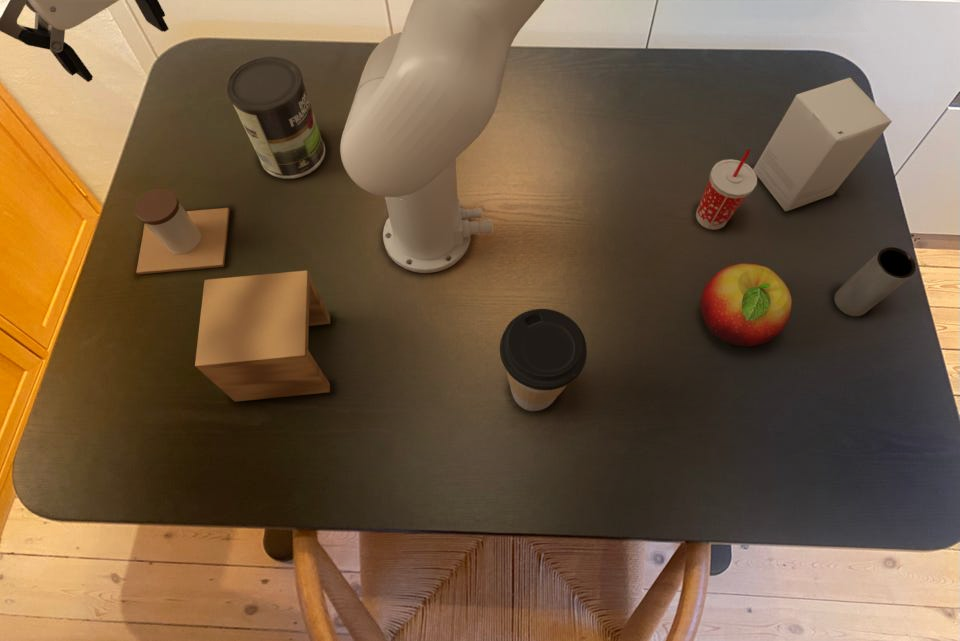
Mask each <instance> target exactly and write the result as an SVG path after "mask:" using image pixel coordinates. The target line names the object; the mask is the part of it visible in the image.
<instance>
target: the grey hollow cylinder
mask: <svg viewBox="0 0 960 641" xmlns="http://www.w3.org/2000/svg"><path fill="white" fill-rule="evenodd" d="M916 269H917V265H916V261H915V260H914V258H913V257H912V255H911V254H909V252H907V251H906V250H904V249H902V248H899V247H897V246H896V247H894V246H887V247H883V248H882V249H880V250H879V251H878V252H877V253H875V255H874V256H872V258H870V260H868V261H867V262H866V263H865V264H864V265H863V266H861V267H860V269H859V270H858V271H857V272H856V273H854V274H853V275H852V276H851V277H850V278H849V279H847V281H846V282H844V284H842V285H841V286H840V287H839V288H838V289H837V291H835V293H834V296H833V299H834V304H835V306H836V307H837V309H838V310H840V311H841V312H842V313H843V314H845V315H848V316H850V317H861V316H863V315H865V314H866V313H867V312H869V311H870V310H871V309H873V308H874V307H875V306H876V305H877V304H879V303H880V302H881V301H882V300H884V299H886V297H888V296H889V295H890V294H892V293H893V292H894V291H895V290H896V289H898V288H899V287H900V286H901V285H903V283H905V282H906V281H907V280H909V279H910V278H911V277H912V276H913V275H914V274H915V273H916Z"/></svg>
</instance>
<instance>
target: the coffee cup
mask: <svg viewBox="0 0 960 641" xmlns="http://www.w3.org/2000/svg"><path fill="white" fill-rule="evenodd" d="M499 355H500V356H499V357H500V359H501V362H502V365H503V367H504V368H505V370H506V377H507V382H508V384H509V386H510V393H511V396H512V398H513V400H514V401H515V403H516V404H517V405H518V406H519V407H521V408H522V409H524V410H525V411H529V412H538V411H542V410H545V409H547V408H548V407H549V406H551V405H552V404H553V403H554V402H555V400H556V399H557V398H558V396H560V394H562V392H563V391H564V390H565V388H566V387H567V386H568V385H569V384H571V383H572V382H574V380H576V379H577V378H578V377H579V376H580V374H581V373H582V372H583V369H584V368H585V365H586V362H587V356H588V348H587V342H586V338H585V335H584V333H583V331H582V329H581V328H580V326H579V325H578V324H577V323H576V321H574V319H572V318H571V317H570V316H568V315H566V314H564V313H562V312H560V311H557V310H554V309H549V308H533V309H530V310H527V311H524V312H522V313H520V314H518V315H517V316H515V317H514V318H513V319H512V320H511V321H510V322H509V323H508V324H507V326H506V327H505V329H504V330H503V333H502V335H501V338H500V342H499Z"/></svg>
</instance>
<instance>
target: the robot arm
mask: <svg viewBox="0 0 960 641" xmlns="http://www.w3.org/2000/svg"><path fill="white" fill-rule="evenodd" d="M119 1H120V0H0V33H3V34H5V35H7V36H9V37H11V38H13V39H15V40H17V41H19V42H21V43H23V44H24V45H26V46H30V47H34V48H39V49H44V50H49V51H50V52H51V53H52V55H53V56H54V57H55V59H56V60H57V61H58V63H59V64H60V66H61V67H62V68H63V69H64V70H65V71H66V72H67V74H69V75H71V76H74V75H76V74H77V76H79V77H80V78H82V79H83V80H85V81H86V82H87V83H89V82H91V81H92V80H93V78H94V76H93V74H92V73H91V72H90V70H89V69H88V68H87V66H86V65H85V63H84V62H83V60H82V59H81V58H80V56H79V55H78V53H77V52H76V51H75V49H74V48H73V47H72V46H71V45H70V44H69V43H67V42H66V41H65V36H66V35H65V34H66V30H70V29H71V30H72V29H73V28H75V27H77V26H79V25H82V23H84V22H87V21H88V20H89V19H91V18H93V17H94V16H96V15H97V14H99V13H101V12H102V11H104V10H106V9H108V8H109V7H111V6H113V5H114V4H115V3H117V2H119ZM134 2H135V3H136V5H137V7H138V8H139V11H140V13H141V14H142V16H143V18H144V19H145V21H146V22H147V23H148V24H150V25H151V26H153V27H154V28H156V29H157V30H158V31H160V32H162V33H163V32H164V33H165V32H167V31H169V26H168V24H167V23H166V21H165V19H164V17H165V16H166V13H165V11H164V9H163V7H162V6H161V4H160V2H159V0H134ZM544 2H545V0H412V3H411V5H410V8H409V10H408V13H407V16H406V18H405V22H404V25H403V27H402V31H401V32H397V33H396V32H395V33H392V34H391V35H388V36H386V38H384V39H383V40H381V41H380V42H379V43H378V44H377V46H376V47H375V48H374V50H373V51H371V54H370V55H369V57H368V59H367V61H366V64H365V66H364V68H363V71H362V73H361V76H360V80H359V82H358V84H357V87H356V91H355V94H354V97H353V101H352V104H351V107H350V109H349V113H348V116H347V119H346V122H345V124H344V125H345V126H344V127H343V131H342V135H341V138H340V145H339V154H340V158H341V163H342V165H343V168H344V170H345V172H346V173H347V175H348V176H349V178H350V179H351V180H352V181H353V182H354V183H355V185H357V186H358V187H359V188H361V189H362V190H363V191H366V192H367V193H369V194H371V195H374V196H378V197H384V200H385V205H386V210H387V213H388V218H387V219H386V220H385V224H384V226H383V232H382V240H383V244H384V248H385V251H386V253H387V255H388V256H389V257H390V258H391V260H392V261H393V262H394V263H395V264H397V265H398V266H400V267H401V268H403V269H405V270H407V271H410V272H414V273H420V274H431V273H437V272H441V271H443V270H447V269H448V268H450V267H453V266H454V265H456V264H457V263H458V262H459V261H461V259H462V258H463V257H464V255H465V254H466V252H467V250H468V248H469V246H470V243H471V235H489V234H493V222H492V219H485V220H484V219H482V218H483V212H482V207H479V208H478V207H476V208H472V209H465V207H462V208H461V202H460V199H459V195H458V193H459V192H458V179H457V158H458V157H460V155H462V153H463V152H465V151H466V150H467V149H468V148H469V147H470V146H471V145H472V144H473V143H474V142H475V141H476V140H477V139H478V138H479V137H480V135H481V134H482V133H483V132H484V130H485V129H486V128H487V126H488V125H489V123H490V121H491V120H492V117H493V115H494V113H495V110H496V109H497V105H498V103H499V98H500V96H501V91H502V86H503V80H504V76H505V71H506V65H507V61H508V58H509V53H510V50H511V47H512V44H513V42H514V40H515V38H516V37H517V35H519V32H520V31H521V30H522V28H523V27H524V26H525V24H526V23H528V21H529V20H530V18H532V16H533V15H534V14H535V13H536V12H537V10H538V9H539V8H540V7H541V6H542V4H543V3H544ZM25 7H27V8H28V9H29V10H30V11H32V12H33V13H35V14H34V28H33V27H30V26H26V25H25V26H24V25H21V24H19V23H18V19H19V17H20V15H21V14H22V12H23V10H24V8H25ZM469 219H481V220H478V221H469Z"/></svg>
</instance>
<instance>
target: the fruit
mask: <svg viewBox="0 0 960 641" xmlns="http://www.w3.org/2000/svg"><path fill="white" fill-rule="evenodd" d="M700 297H701V298H700V302H699V304H700V312H701V317H702V319H703V322H704V323H705V326H706V327H707V328H708V330H710V332H711V333H712V334H713V335H714V336H715V337H716V338H719V339H720V340H721V341H723V342H725V343H726V344H731V345H733V346H737V347H755V346H759V345H762V344H765V343H767V342H769V341H770V340H772V339H773V338H774V337H776V336H778V335H779V334H780V333H781V331H783V328H784V327H785V326H786V324H787V323H788V322H789V318H790V315H791V311H792V304H793V300H792V295H791V292H790V289H789V288H788V286H787V285H786V283H785V281H784V280H783V279H782V278H781V277H780V276H779V275H778V274H777V273H776V272H775V271H773V270H772V269H771V268H769V267H768V266H763V265H760V264H756V263H738V264H734V265H733V264H732V265H729V266H727V267H725V268H723V269H721V270H719V271H718V272H716V273H715V274H713V276H711V278H710V279H709V280H708V282H707V283H706V285H705V286H704V288H703V291H702V294H701V296H700Z"/></svg>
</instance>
